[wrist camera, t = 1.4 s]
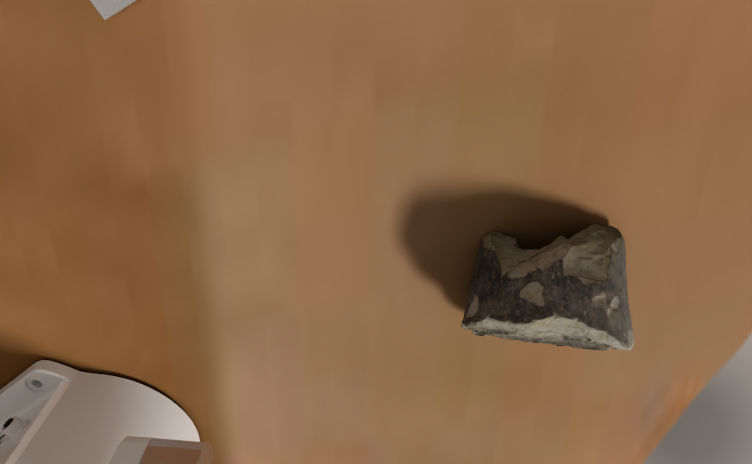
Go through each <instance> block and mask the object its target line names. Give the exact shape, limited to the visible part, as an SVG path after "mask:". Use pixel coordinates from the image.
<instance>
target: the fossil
mask: <svg viewBox="0 0 752 464" xmlns="http://www.w3.org/2000/svg"><path fill="white" fill-rule="evenodd" d="M461 327H462V328H464V329H470V330H472V333H473V334H475V335H479V336H486V335H492V336H495V337H499V338H502V339H510V340H521V341H524V342H534V343H548V344H552V345H557V346H571V347H574V348H582V349H592V350H601V351H605V350H608V349H610V348H611V347H612V348H613V349H621V350H628V351H630V350H632V347H633V346H634V344H635V340H634V335H633V329H632V323H631V317H630V310H629V304H628V294H627V277H626V252H625V241H624V239H623V236H622V234H621V233H620V231H619V230H618V229H616V228H614V227H612V226H600V225H597V224H593V225H590V226H589V227H588V228H586V229H584V230H582V231H580V232H579V233H577V234H574V235H573V236H572V237H571V238H570V239H566V238H565V237H564V236H563V235H561V236H559V237H558V238H556V239H555V240H554V241H553V242H552V243H551V244H550V245H547V246H544V247H542V248H541V249H527V250H525V249H521V248H519V246H518V244H517V241H516V238H512V237H510V236H506V235H504V234H502V233H501V232H491V233H489V234H488V235H486V236H485V237H484V238H483V241H482V243H481V246H480V249H479V252H478V256H477V262H476V266H475V270H474V274H473V277H472V281H471V286H470V291H469V296H468V301H467V305H466V309H465V313H464V318H463V321H462V325H461Z"/></svg>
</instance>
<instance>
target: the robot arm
mask: <svg viewBox="0 0 752 464" xmlns="http://www.w3.org/2000/svg"><path fill="white" fill-rule="evenodd" d="M213 455H214V453H213V449H212V446H211V443H207V442H200V439H199V435H198V432H197V430H196V428H195V426H194V424H193V422H192V421H191V419H190V418H189V417H188V416H187V414H186V413H185V412H184V411H183V410H182V409H181V408H180V407H179V406H178V405H176V404H175V403H174V402H173V401H171V400H170V399H169V398H167V397H165V396H164V395H162V394H161V393H159V392H157V391H155V390H153V389H151V388H149V387H147V386H145V385H142V384H140V383H137V382H134V381H131V380H128V379H124V378H120V377H116V376H110V375H103V374H94V373H86V372H81V371H78V370H75V369H73V368H70V367H68V366H65V365H62V364H59V363H56V362H53V361H48V360H40V361H38V362H36V363H34V364H33V365H32V366H30V367H29V368H28V369H27V370H25V371H24V372H23V373H21V374H20V375H19V376H17V377H16V378H15V379H14V380H12V381H11V382H10V383H8V384H7V385H6V386H4V387H3V388H2V389H1V390H0V464H211V461H212V458H213Z"/></svg>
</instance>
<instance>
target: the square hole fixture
mask: <svg viewBox="0 0 752 464" xmlns="http://www.w3.org/2000/svg"><path fill="white" fill-rule="evenodd" d="M90 1H91V2H92V4H93V5H94V6H95V8H96V9H97V10H98V12H99V13H100V14H101V16H102V17H103V18H104V20H106V19H108V18H109V17H111V16H113V15H114V14H116V13H118V12H119V11H121V10H122V9H124V8H125V7H127V6H128V5H130V4H132V3H133V2H135V1H136V0H90Z"/></svg>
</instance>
